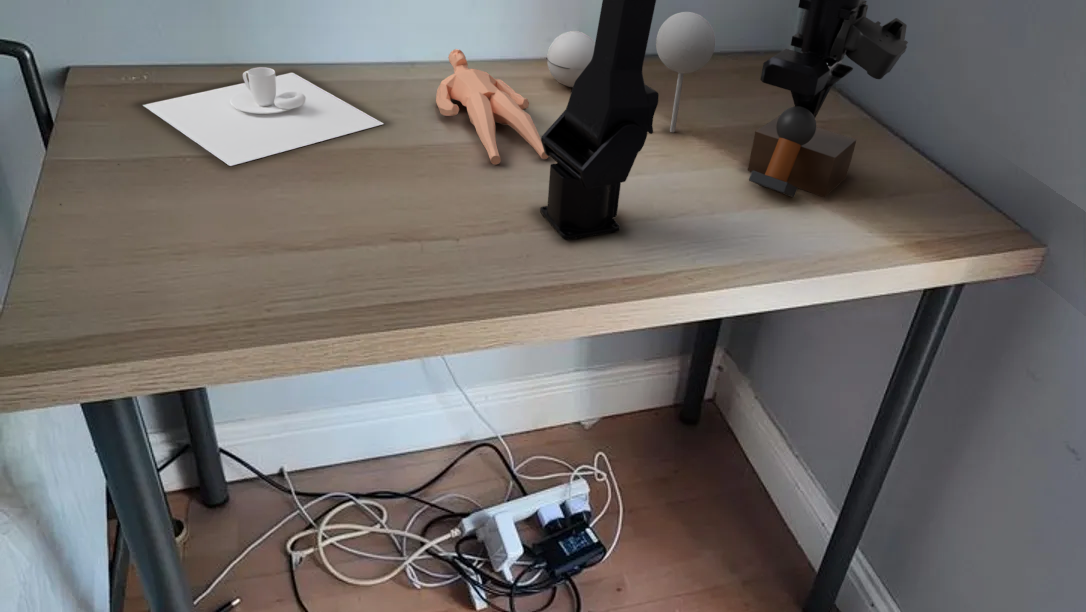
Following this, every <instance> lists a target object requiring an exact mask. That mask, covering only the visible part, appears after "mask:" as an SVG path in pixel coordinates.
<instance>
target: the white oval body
mask: <svg viewBox="0 0 1086 612" xmlns="http://www.w3.org/2000/svg"><path fill="white" fill-rule="evenodd" d="M594 47H595V40H594V39H593V38H592V37H591V36H590V35H588V34H586V33H584V32H582V31H578V30H570V31H566V32H563V33H561V34H559V35H558V36H557V37H555V38H554V39H553V41H552V42H551V44H550V46H549V47H548V50H547V54H546V62H547V68H548V70H549V73H550V75H551V76H552V77H553V79H554V80H556V82H557V83H558V84H561V85H563V86H566V87H568V88H573V86H574V83H575V81H576V79H577V78H578V77H579V76H580V74H581V73H582V72H583V70H584V69H585V68H586V67H587V65H588V64H589V63H590V61H591V60H592V57H593V53H594Z"/></svg>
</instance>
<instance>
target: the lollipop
mask: <svg viewBox="0 0 1086 612" xmlns="http://www.w3.org/2000/svg"><path fill="white" fill-rule="evenodd" d="M655 46H656V47H655V48H656V53H657V56H658V58H659V60H660V61H661V63H662V64H663V65H664V66H665V67H666V68H668V69H669V70H670V71H673V72H674V73H678V74H677V80H676V87H675V94H674V101H673V107H672V114H671V122H670V127H669V132H670V133H676V128H677V122H678V121H677V120H678V115H679V108H680V100H681V96H682V95H681V94H682V88H683V81H684V74H692V73H695V72H697V71H700V70H701V69H702V68H703V67H705V66H706V65H707V64H708V63H709V61H710V60H711V58H712V57H713V55H714V52H715V49H716V36H715V31H714V29H713V27H712V25H711V23H710V22H709V21H708V20H707V19H706V18H705V17H704V16H702V15H700V14H699V13H696V12H692V11H681V12H677V13H675V14H672V15H670V16H669V17H668V18H666V19H665V21H664V22H663V23H662V24H661V25H660V27H659V29H658V32H657V35H656V39H655Z"/></svg>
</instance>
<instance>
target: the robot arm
mask: <svg viewBox="0 0 1086 612" xmlns="http://www.w3.org/2000/svg"><path fill="white" fill-rule="evenodd" d="M601 1H602V2H601V8H600V12H599V18H598V26H597V29H596V30H597V31H596V34H595V35H596V36H595V40H594V42H595V47H594V53H593V57H592V60H591V61H590V63H589V64H588V65H587V67H586V68H585V69H584V70H583V72H582V73H581V74H580V76H579V77H578V78H577V79H576V81H575V83H574V86H573V87H572V90H571V92H570V95H569V98H568V102H567V105H566V108H565V110H564V111H563V112H562V113H561V114H560V115H559V117H558V118H557V119H555V120H554V122H553V123H552V124H551V125H550V126H549V128H547V130H546V131H545V132H544V133H543V134H542V135H541V136H540V139H541V142H542V145H543V148H544V152H545V154H546V155H547V156H549V157H550V158H551V159H552V160H553V161H554V162H556V163H551V164H550V166H549V181H548V195H547V205H543V206H541V207H539V208H540V210H539V213H540V214H541V215H542V216H543V217H544V219H545V220H546V221H547V222H548V223H549V224H550V226H552V228H553V229H554V230H555V231H556V232H557V233H558V234H559V235H560V237H561V238H562V239H564V240H575V239H581V238H585V237H586V238H587V237H592V236H593V237H594V236H599V235H603V234H610V233H616V232H619V231H620V229H621V225H620V224H619V223H618V222H617V221H616V220H615V218H617V216H618V209H619V201H620V192H621V185H622V184H621V183H625V182H626V181H627V179H628V177H629V174H630V172H631V170H632V168H633V165H634V164H635V161H636V158H637V156H638V154H639V152H641V151H642V149H643V147H644V146H645V143H646V140H647V139H648V134H650V135H653V134H654V127H653V123H654V122H653V121H654V116H655V113H656V110H657V107H658V105H659V92H658V91H656V90H655V89H653V88H651V86H649V85H648V84H646V83H645V79H644V73H643V69H644V63H645V58H646V54H647V53H646V52H647V47H648V43H649V38H650V34H651V33H650V32H651V29H652V24H653V18H654V13H655V10H656V9H655V8H656V3H657V0H601ZM867 2H868V0H799V1H798V7H797V8H799V9H801V10H802V9H803V13H802V17H801V22H800V26H799V32H797V33H795V34H794V35H792V36H791V41H790V46H791V47H795V48H799V49H801V50H800V51H801V52H799V51H796V50H792V49H789V48H784V49H783V50H781V51H780V52H778V53H776V54H775V55H773V56H772V57H770V58H768V59H766V60H765V61H764V62H763V63H762V69H761V74H760V78H759V79H760V81H761V82H762V83H763V84H767V85H770V86H772V87H777V88H779V89H783V90H787V91H789V92H790V94H791V97H792V101H793V104H794V105H793V106H794V107H796V106H799V107H804V108H806V109H808V110H809V111H810V112H811V113H812V114H813V116H814V117H815V119H816V118H817V116H818V113H819V112H820V110H821V108H822V106H823V104H824V102H825V100H826V99H827V97H828V94H829V93H830V90H831V89H832V87H833V86H834V85H835V84H836V83H838V82H839V81H840V80H841V79H843V78H845V76H847V75H848V74H850V73H851V72H852V71H853V70H854V68H853V66H850V65H846V64H843V60H844V58H845V56H846V57H847V58H848V59H849V60H851V61H852V62H853V63H855V64H856V65H858V66H859V67H861V68H862V69H863V70H864V71H866V74H867V75H868V76H870V77H871V78H873V79H875V80H881V79H883V78H884V77H885V76H886V75H887V74H888V73H891V71H892V70H893V68H894V67H895V65H896V64H897V63H898V61H899V60H900V59H901V57H902V55H903V54H905V53H906V50H907V48H908V46H907V45H908V43H909V42H908V41H907V40H905V39H906V33H907V27H908V26H907V24H906V23H904V22H903V21H902V20H900V19H899V18H898V17H897V18H893V19H892V20H890V21H889V22H887V23H885V24H883V25H881V24H882V22H880V21H878V20H877V21H876V22H874V21H873V20H872V19H869V18H868V17H867V13H868V9H869V5H868V4H867Z"/></svg>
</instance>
